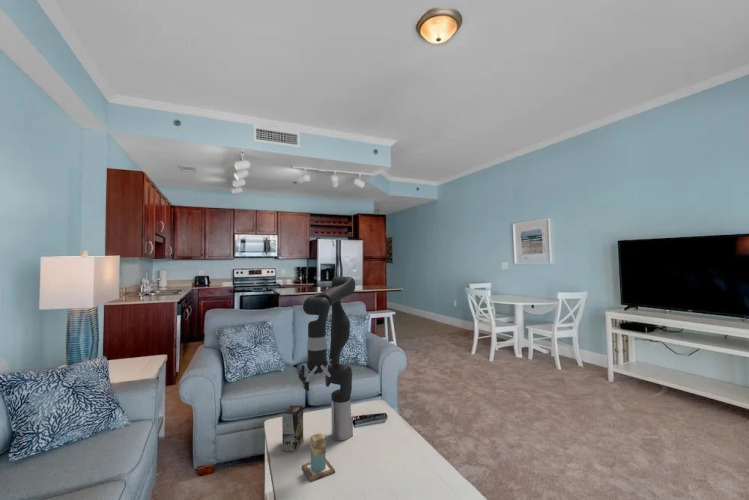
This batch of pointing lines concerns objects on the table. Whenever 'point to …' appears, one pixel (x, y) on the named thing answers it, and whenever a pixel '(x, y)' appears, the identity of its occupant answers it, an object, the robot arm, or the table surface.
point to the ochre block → (318, 444)
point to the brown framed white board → (320, 474)
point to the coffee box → (292, 428)
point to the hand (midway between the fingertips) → (317, 388)
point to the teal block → (318, 462)
